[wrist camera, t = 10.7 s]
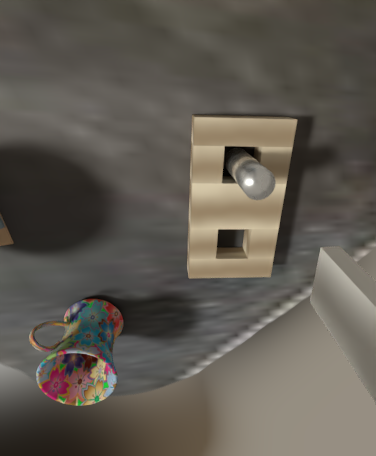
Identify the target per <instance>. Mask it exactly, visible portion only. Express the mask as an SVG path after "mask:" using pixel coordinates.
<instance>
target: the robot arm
mask: <svg viewBox="0 0 376 456" xmlns="http://www.w3.org/2000/svg"><path fill="white" fill-rule="evenodd" d="M310 303H311V304H312V306H313V308H314V309H315V311H316V312H317V314H318V315H319V317H320V318H321V320H322V321H323V323H324V325H325V326H326V328H327V329H328V330H329V332H330V334H331V335H332V337H333V338H334V340H335V341H336V343H337V345H338V346H339V348H340V349H341V351H342V352H343V353H344V355H345V357H346V358H347V360H348V361H349V363H350V364H351V366H352V368H353V369H354V371H355V372H356V374H357V375H358V377H359V378H360V380H361V382H362V383H363V385H364V386H365V388H366V389H367V391H368V392H369V394H370V395H371V397H372V398H373V400H374V402H375V403H376V281H375V280H374V279H373V278H372V277H371V276H370V275H369V274H368V273H367V272H366V271H365V270H364V269H363V268H362V267H361V266H360V265H359V264H358V263H356V262H355V261H354V260H353V259H352V258H351V257H350V256H349V255H348V254H347V253H346V252H345V251H344V250H343V249H342V248H341V247H340V246H336V247H321V249H320V254H319V259H318V264H317V269H316V274H315V279H314V284H313V289H312V294H311V299H310Z"/></svg>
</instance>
